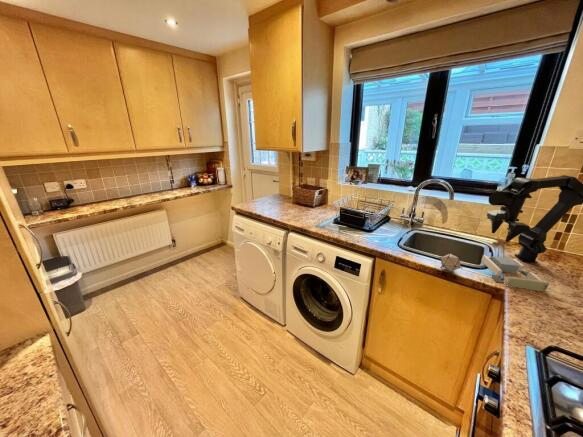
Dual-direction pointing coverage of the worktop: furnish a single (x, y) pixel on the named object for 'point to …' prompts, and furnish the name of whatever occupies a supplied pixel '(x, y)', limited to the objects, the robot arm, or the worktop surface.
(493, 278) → the block
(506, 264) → the slate block
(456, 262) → the game die
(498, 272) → the trap lane
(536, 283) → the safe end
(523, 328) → the worktop surface
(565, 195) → the robot arm
